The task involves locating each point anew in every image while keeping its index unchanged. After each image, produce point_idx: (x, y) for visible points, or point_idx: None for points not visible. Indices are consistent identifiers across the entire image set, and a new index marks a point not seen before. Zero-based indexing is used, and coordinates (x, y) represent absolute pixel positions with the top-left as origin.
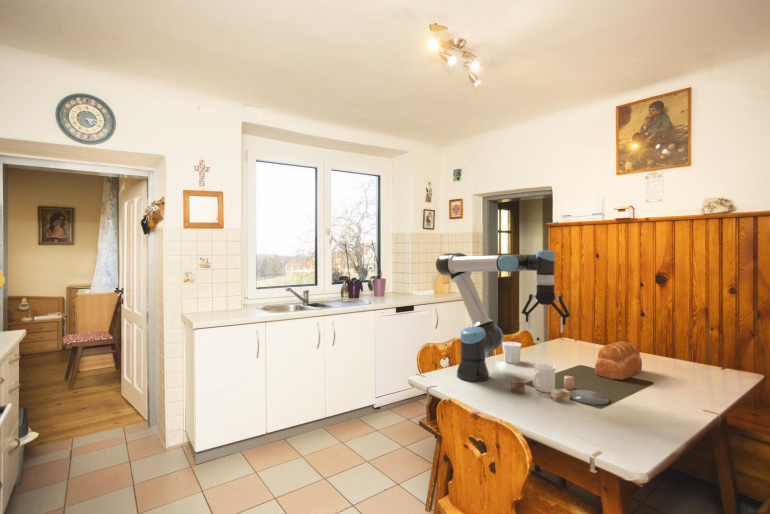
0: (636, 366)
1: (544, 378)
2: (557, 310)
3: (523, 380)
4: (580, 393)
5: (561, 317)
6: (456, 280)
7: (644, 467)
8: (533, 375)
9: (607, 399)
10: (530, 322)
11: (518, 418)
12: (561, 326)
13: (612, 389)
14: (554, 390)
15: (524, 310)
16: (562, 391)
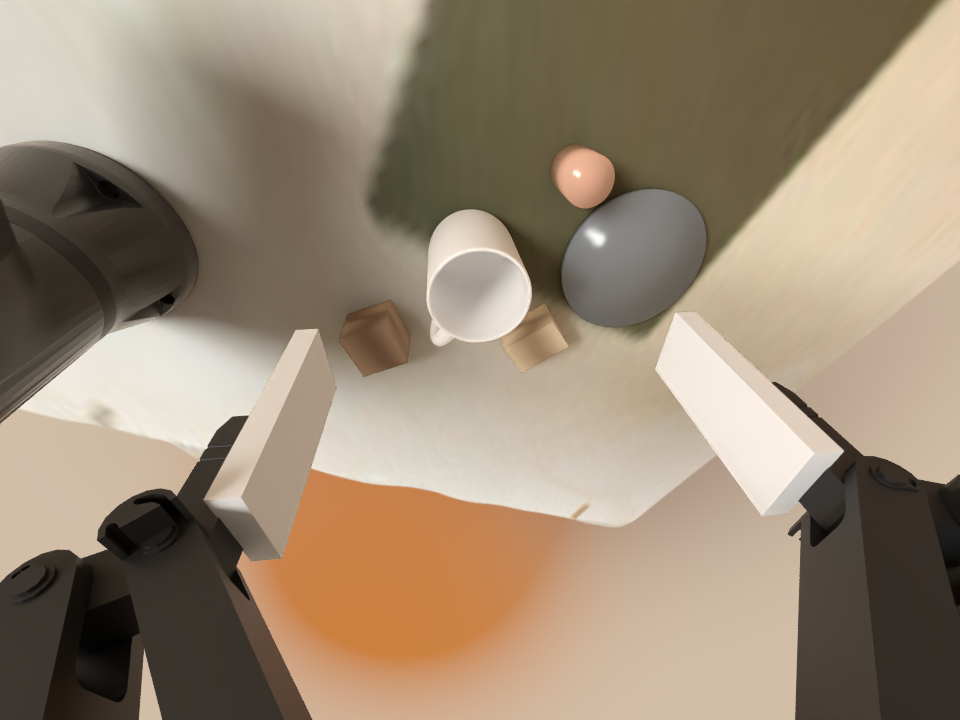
0: None
1: (478, 317)
2: (814, 667)
3: (394, 340)
4: (609, 250)
5: (806, 473)
6: None
7: (638, 512)
8: (433, 343)
9: (695, 267)
10: (298, 413)
11: (439, 474)
12: (700, 417)
13: (790, 66)
14: (517, 355)
15: (114, 685)
16: (544, 351)
